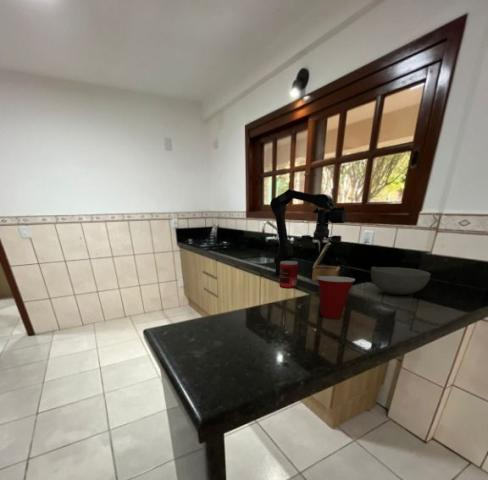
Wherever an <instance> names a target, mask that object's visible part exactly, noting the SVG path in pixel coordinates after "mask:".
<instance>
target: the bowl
mask: <svg viewBox="0 0 488 480" xmlns="http://www.w3.org/2000/svg"><path fill="white" fill-rule="evenodd" d="M431 276H432V275H431V273H430V272H429V271H426V270H422V269H416V268H411V267H410V268H409V267H398V266H397V267H396V266H393V267H392V266H379V267H378V266H371V268H370V278H371V281H372V283H373V285H374V286H375V287H376V288H378V289H379V290H381V291H382V292H385V293H387V294H389V295H395V296H404V295H412V294H416V292H419V291H421V290H422V289H423V288H425V287H426V286H427V284H428V283H429V281H430V280H431Z"/></svg>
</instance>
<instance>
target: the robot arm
mask: <svg viewBox="0 0 488 480" xmlns="http://www.w3.org/2000/svg"><path fill="white" fill-rule="evenodd" d="M294 199H295V200H298V201H303V202H306V203H310V204H312V205H313V206H316V208H315V209H314V210H313V211H312V214H316V221H315V223H316V224H315V229H314V231H313V236H312V235H311V234H303V235H301V236H300V242H309V241H312V244H314V247H315V249H316V252H317V258H318V257H319V255H320V254H321V252H322V250H323V249H324V247H325V245H326V244H328V243H330V242H332V243H341V242H342V235H331V236H330V228H329V222H330V224H345V223H346V220H347V211H346V210H347V209H346V208H347V207H345V206H340V207H336V206H335V204H334V202H333V197H332V196H331V195H330V194H325V193H308V192H303V191H299V190H295V189H292V188H288V189H287V190H285V191H284V192H282V193H280V194H279V195H277V196H276V197H273V198H272V199H271V201H270V202H269V203H270V205H269V206H270V209H271V212H272V214H273V215H274V218H275V223H276V230H277V237H278V245H279V246H278V248H277V256H276V257H275V258H274V259H273V263H274V264H275V273H274V275H279V276H280V262H281V261H291V260H292V258H293V257H294V254H295V252H294V246H293V245H290V243H289V239H288V238H289V237H288V231H287V225H286V224H287V223H286V216H285V215H286V211H287V206H288V205H289V204H290V203H291V201H292V200H294ZM321 241H322V242H321ZM329 241H330V242H329Z"/></svg>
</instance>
